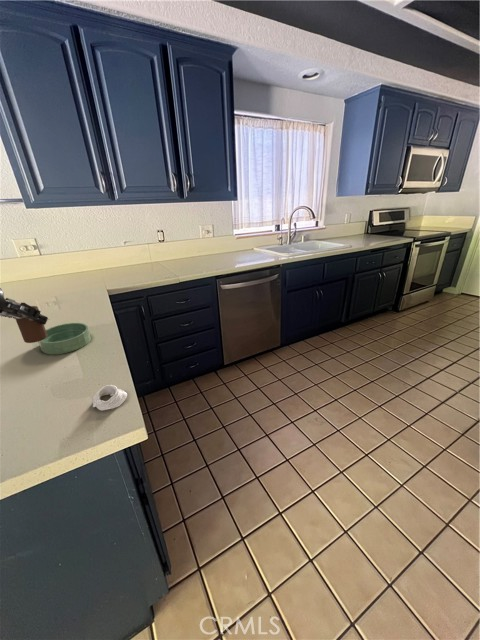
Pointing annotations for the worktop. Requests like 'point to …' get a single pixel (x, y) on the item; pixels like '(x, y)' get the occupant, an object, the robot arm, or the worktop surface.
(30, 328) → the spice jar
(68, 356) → the worktop surface
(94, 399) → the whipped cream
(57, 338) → the bowl
